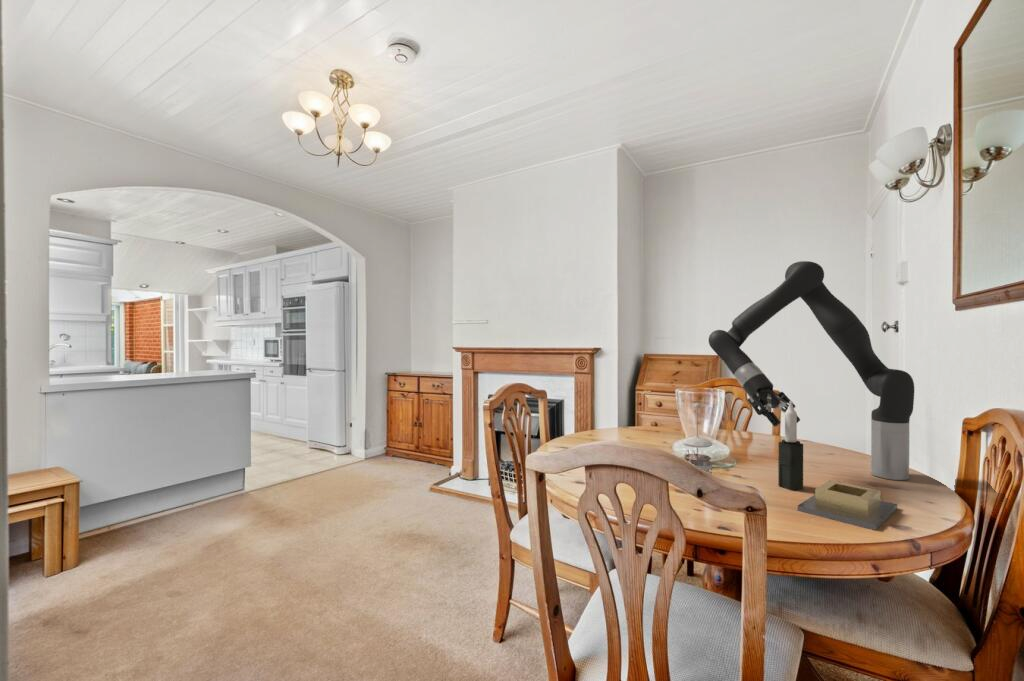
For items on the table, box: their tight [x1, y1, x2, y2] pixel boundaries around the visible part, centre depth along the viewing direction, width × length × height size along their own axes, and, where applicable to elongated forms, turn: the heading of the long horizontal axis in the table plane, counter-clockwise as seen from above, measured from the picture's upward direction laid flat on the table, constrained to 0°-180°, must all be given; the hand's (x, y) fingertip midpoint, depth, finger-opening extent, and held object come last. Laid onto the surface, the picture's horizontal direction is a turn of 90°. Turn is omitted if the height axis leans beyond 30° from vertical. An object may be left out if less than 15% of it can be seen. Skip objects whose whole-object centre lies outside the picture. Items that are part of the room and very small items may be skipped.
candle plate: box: [797, 479, 898, 531], centre depth 119 cm, size 20×16×5 cm
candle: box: [777, 400, 804, 491], centre depth 137 cm, size 5×5×25 cm
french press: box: [682, 402, 713, 475], centre depth 134 cm, size 10×12×25 cm
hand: (787, 423), depth 137 cm, fingers open, 8 cm apart
